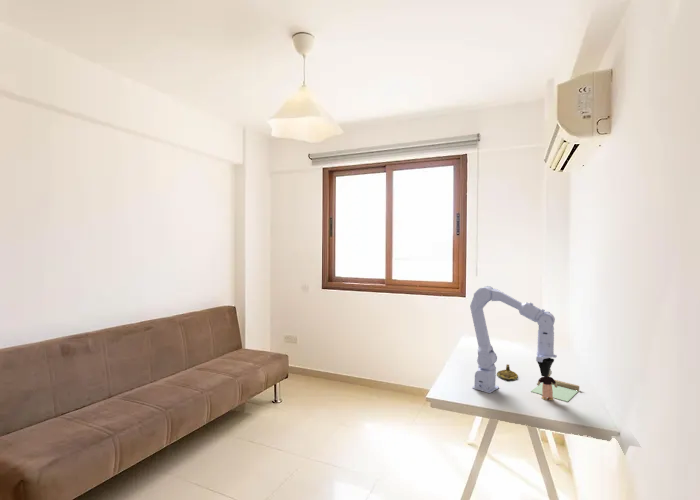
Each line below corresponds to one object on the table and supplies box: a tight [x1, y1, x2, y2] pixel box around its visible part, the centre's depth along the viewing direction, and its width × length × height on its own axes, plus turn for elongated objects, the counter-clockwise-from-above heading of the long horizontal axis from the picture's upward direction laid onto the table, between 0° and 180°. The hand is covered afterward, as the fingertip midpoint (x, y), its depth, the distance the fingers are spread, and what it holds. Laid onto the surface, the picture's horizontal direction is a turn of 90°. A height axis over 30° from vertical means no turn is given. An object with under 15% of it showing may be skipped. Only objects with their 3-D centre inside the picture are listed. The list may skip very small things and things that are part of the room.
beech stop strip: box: [552, 379, 580, 392], centre depth 164 cm, size 2×14×2 cm, turn 45°
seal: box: [496, 363, 519, 382], centre depth 176 cm, size 9×5×15 cm
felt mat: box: [530, 383, 579, 403], centre depth 158 cm, size 16×14×1 cm
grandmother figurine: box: [536, 368, 558, 401], centre depth 150 cm, size 8×4×13 cm, turn 92°
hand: (544, 376), depth 148 cm, fingers closed
